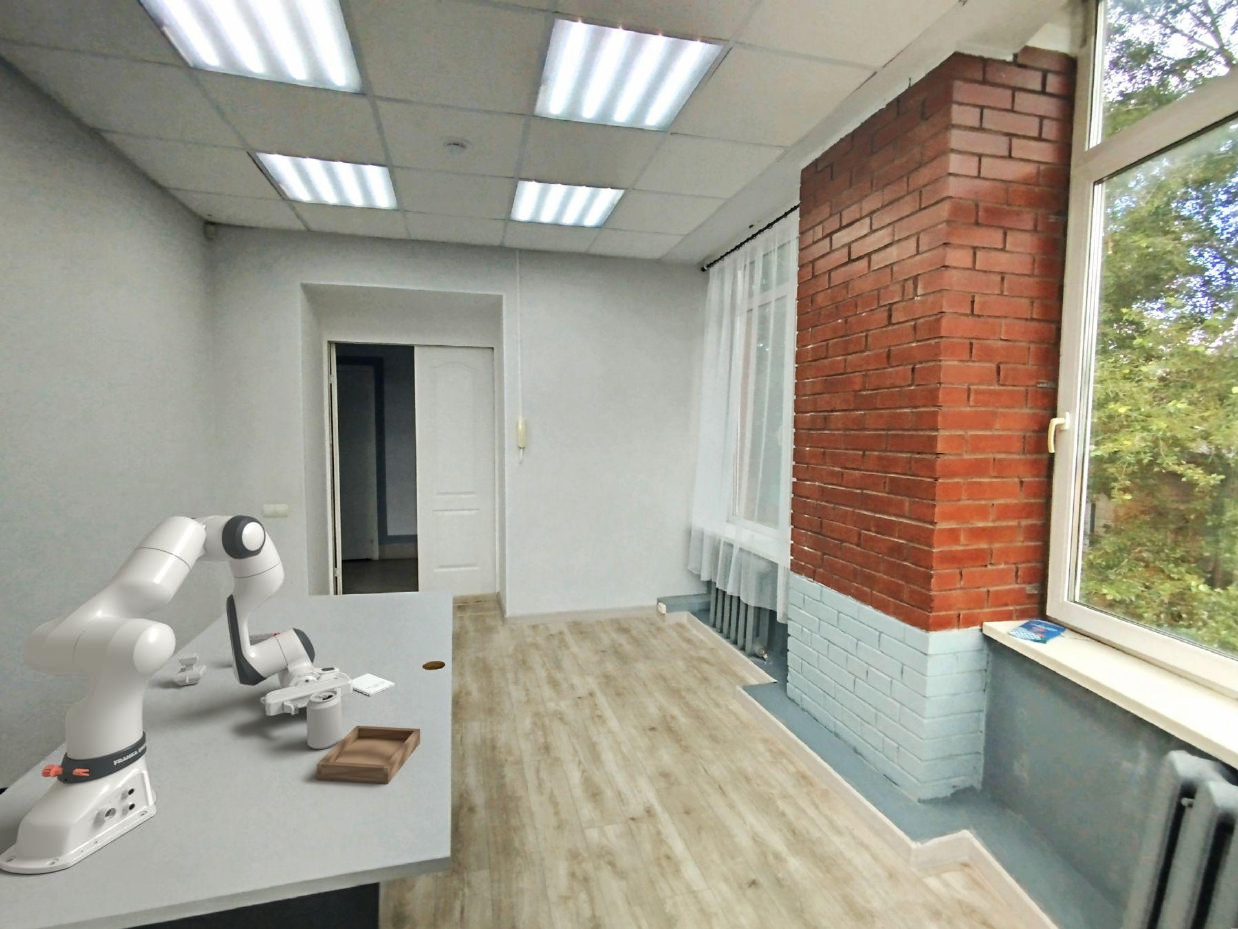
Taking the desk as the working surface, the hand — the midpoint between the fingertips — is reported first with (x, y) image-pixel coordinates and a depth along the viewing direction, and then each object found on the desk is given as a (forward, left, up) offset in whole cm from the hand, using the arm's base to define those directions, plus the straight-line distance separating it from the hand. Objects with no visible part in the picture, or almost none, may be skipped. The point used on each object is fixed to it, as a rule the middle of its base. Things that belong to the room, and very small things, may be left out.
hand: (316, 705), depth 142 cm
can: (-5, -5, -7) cm, 10 cm away
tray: (-11, -20, -6) cm, 24 cm away
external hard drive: (+25, 0, -7) cm, 26 cm away
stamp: (+22, +54, -7) cm, 58 cm away
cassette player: (+37, +40, -7) cm, 54 cm away
